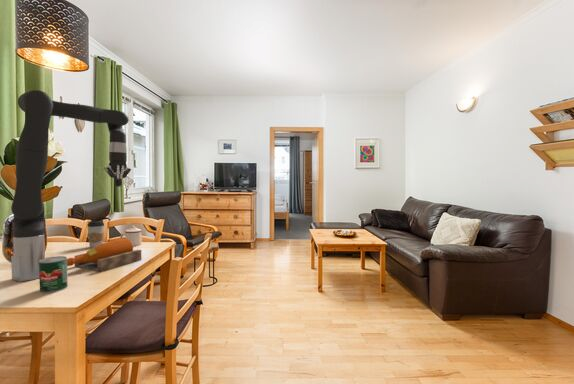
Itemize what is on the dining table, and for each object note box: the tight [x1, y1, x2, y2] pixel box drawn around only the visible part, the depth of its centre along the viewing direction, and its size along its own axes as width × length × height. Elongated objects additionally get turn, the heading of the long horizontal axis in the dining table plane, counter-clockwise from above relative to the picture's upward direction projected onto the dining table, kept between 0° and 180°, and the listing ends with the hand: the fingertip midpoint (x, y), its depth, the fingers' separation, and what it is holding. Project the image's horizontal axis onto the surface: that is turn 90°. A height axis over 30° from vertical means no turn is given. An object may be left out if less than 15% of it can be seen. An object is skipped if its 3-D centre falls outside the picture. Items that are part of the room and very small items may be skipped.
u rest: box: [74, 249, 142, 273], centre depth 132 cm, size 20×18×5 cm
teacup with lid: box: [119, 225, 143, 247], centre depth 169 cm, size 12×9×12 cm
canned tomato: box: [38, 255, 69, 294], centre depth 100 cm, size 8×8×11 cm
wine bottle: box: [67, 238, 134, 267], centre depth 126 cm, size 10×10×30 cm
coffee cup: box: [87, 220, 105, 249], centre depth 163 cm, size 8×8×15 cm
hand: (118, 186), depth 139 cm, fingers closed
